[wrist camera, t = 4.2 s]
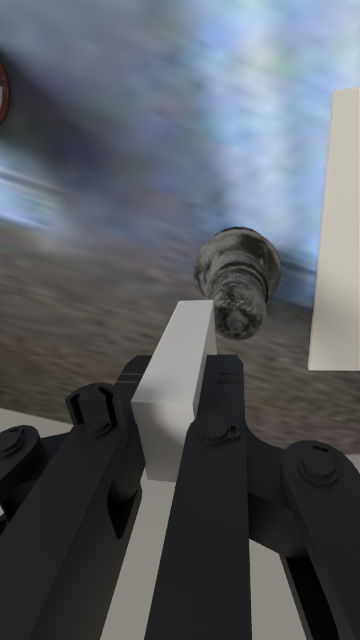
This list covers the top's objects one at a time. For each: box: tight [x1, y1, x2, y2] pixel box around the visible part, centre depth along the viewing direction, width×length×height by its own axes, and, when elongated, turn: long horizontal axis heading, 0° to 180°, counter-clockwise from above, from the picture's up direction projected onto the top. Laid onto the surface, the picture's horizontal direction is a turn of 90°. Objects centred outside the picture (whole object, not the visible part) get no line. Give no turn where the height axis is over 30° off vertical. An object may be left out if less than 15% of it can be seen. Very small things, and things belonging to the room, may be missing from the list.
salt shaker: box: [194, 227, 281, 340], centre depth 18 cm, size 6×6×12 cm
